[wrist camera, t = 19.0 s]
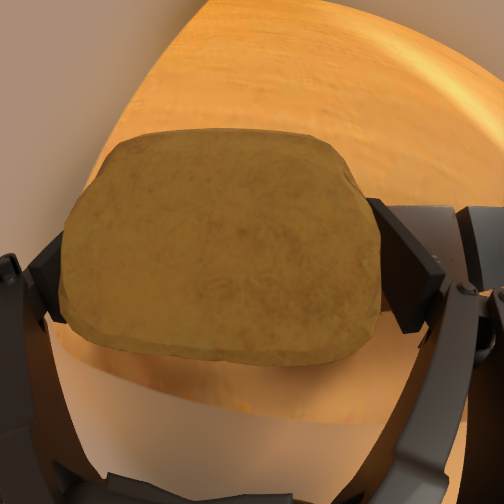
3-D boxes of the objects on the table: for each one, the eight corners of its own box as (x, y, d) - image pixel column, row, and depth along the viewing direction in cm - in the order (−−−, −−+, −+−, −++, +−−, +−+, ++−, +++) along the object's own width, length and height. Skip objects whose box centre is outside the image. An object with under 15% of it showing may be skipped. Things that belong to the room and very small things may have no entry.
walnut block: (359, 313, 19) (398, 310, 14) (349, 235, 21) (381, 205, 15) (424, 303, 20) (470, 294, 14) (412, 231, 21) (453, 205, 15)
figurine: (189, 327, 19) (46, 336, 5) (196, 237, 21) (105, 90, 6) (288, 332, 19) (386, 365, 5) (291, 241, 21) (360, 90, 6)
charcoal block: (437, 300, 20) (484, 291, 14) (426, 230, 21) (467, 205, 15) (480, 290, 20) (524, 279, 14) (469, 228, 21) (509, 207, 15)
